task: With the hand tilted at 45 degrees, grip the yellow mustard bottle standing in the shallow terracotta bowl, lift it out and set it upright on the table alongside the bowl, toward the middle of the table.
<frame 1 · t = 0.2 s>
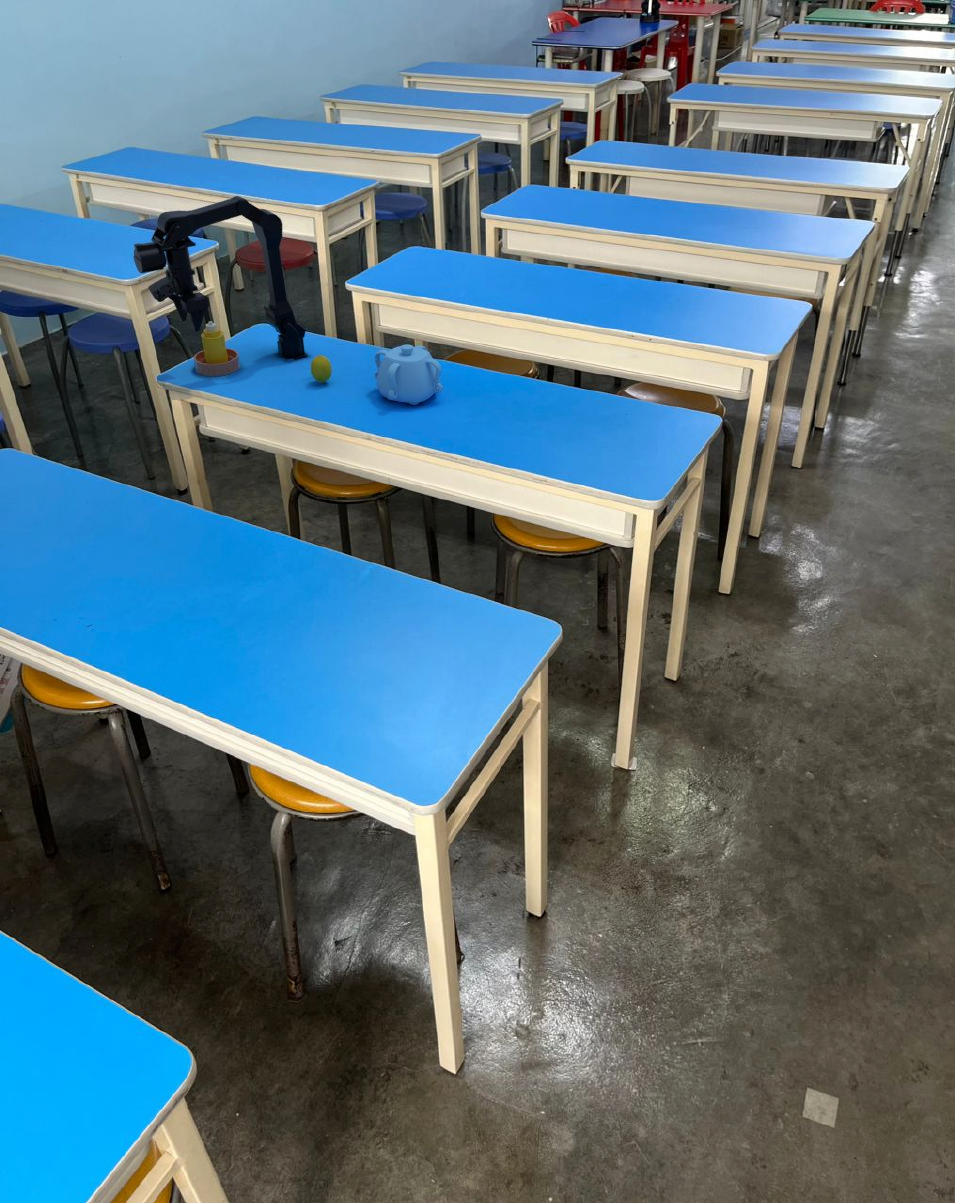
hand: (190, 326, 248), 14 cm above the table, tool pointing down, fingers open, 9 cm apart
decorative pot: (409, 396, 248), on the table
lemon: (322, 384, 254), on the table
bowl: (218, 369, 261), on the table
mustard bottle: (218, 367, 261), point 1 cm above the table, touching bowl
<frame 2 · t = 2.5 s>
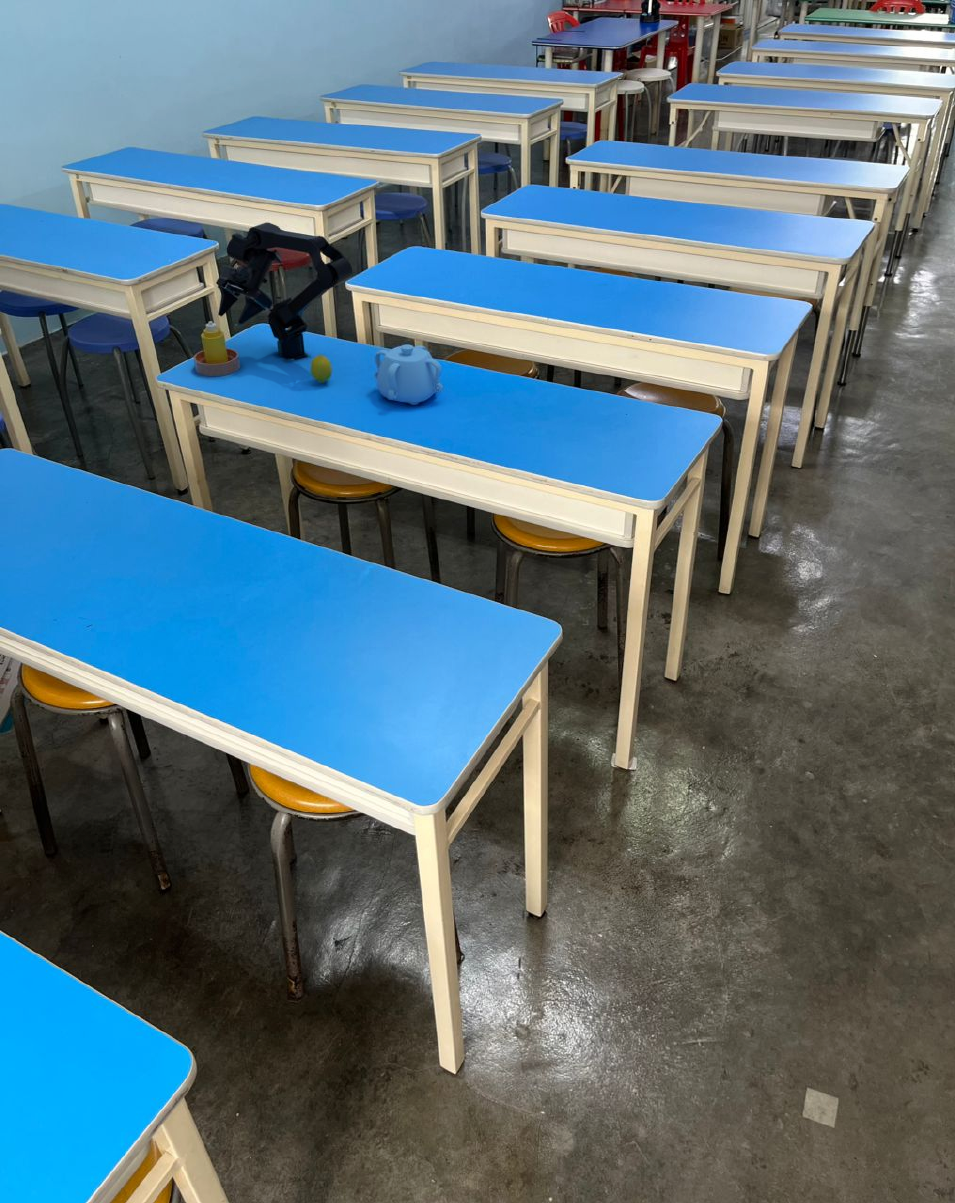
hand: (229, 319, 257), 13 cm above the table, tool tilted 45°, fingers open, 9 cm apart
nothing on the table moved.
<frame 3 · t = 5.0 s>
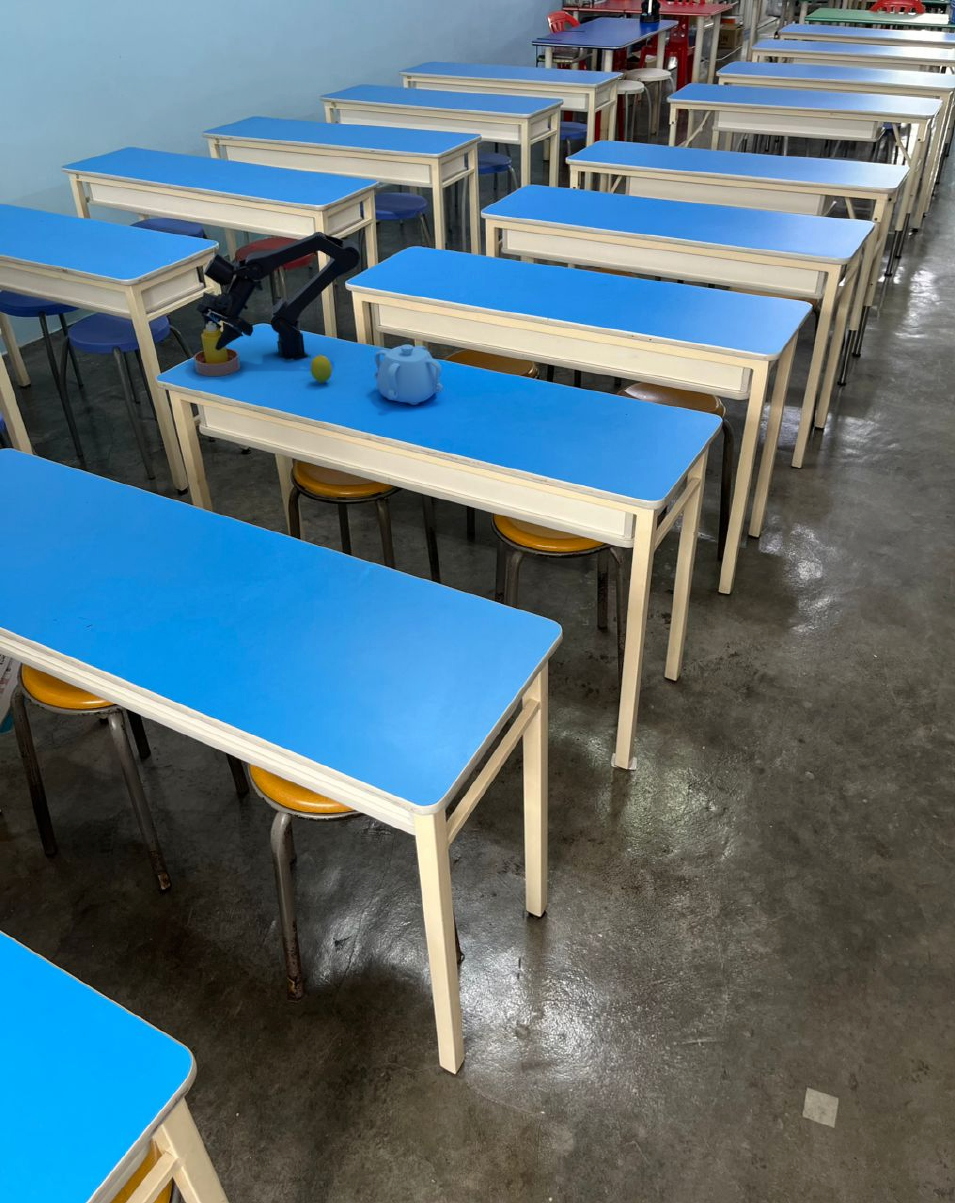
hand: (209, 346, 256), 7 cm above the table, tool tilted 45°, fingers closed on mustard bottle, 6 cm apart
mustard bottle: (218, 367, 261), point 1 cm above the table, touching bowl, gripper
everything else where it was.
when the fingers open (7 cm above the table, at t = 11.2 s): mustard bottle stays where it is, on the table.
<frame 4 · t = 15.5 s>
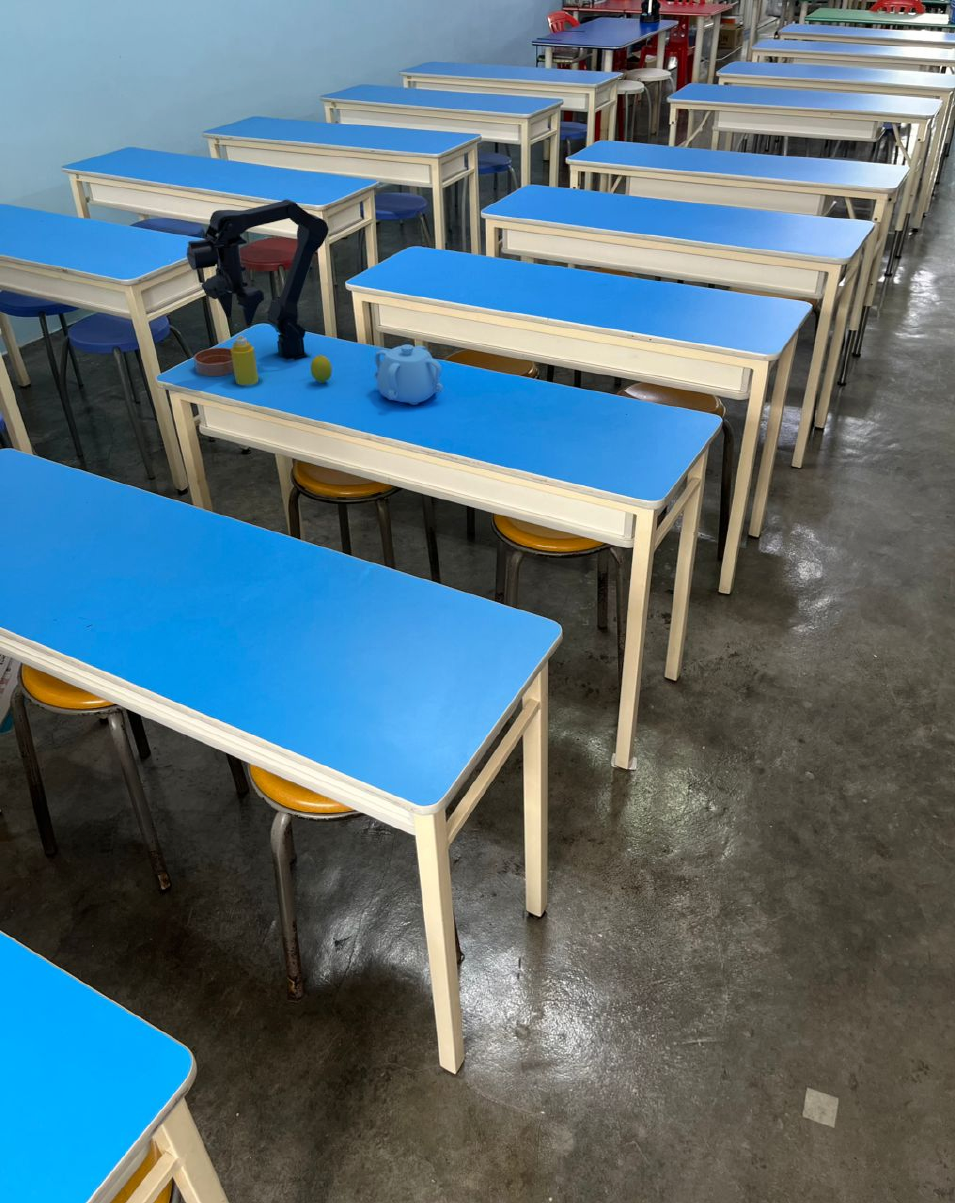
hand: (238, 321, 255), 13 cm above the table, tool pointing down, fingers open, 9 cm apart
mustard bottle: (247, 382, 254), on the table
everything else where it was.
at the end: mustard bottle inside the target area (0.0 cm from its centre), on the table; mustard bottle tilted 0°; mustard bottle touching table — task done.
